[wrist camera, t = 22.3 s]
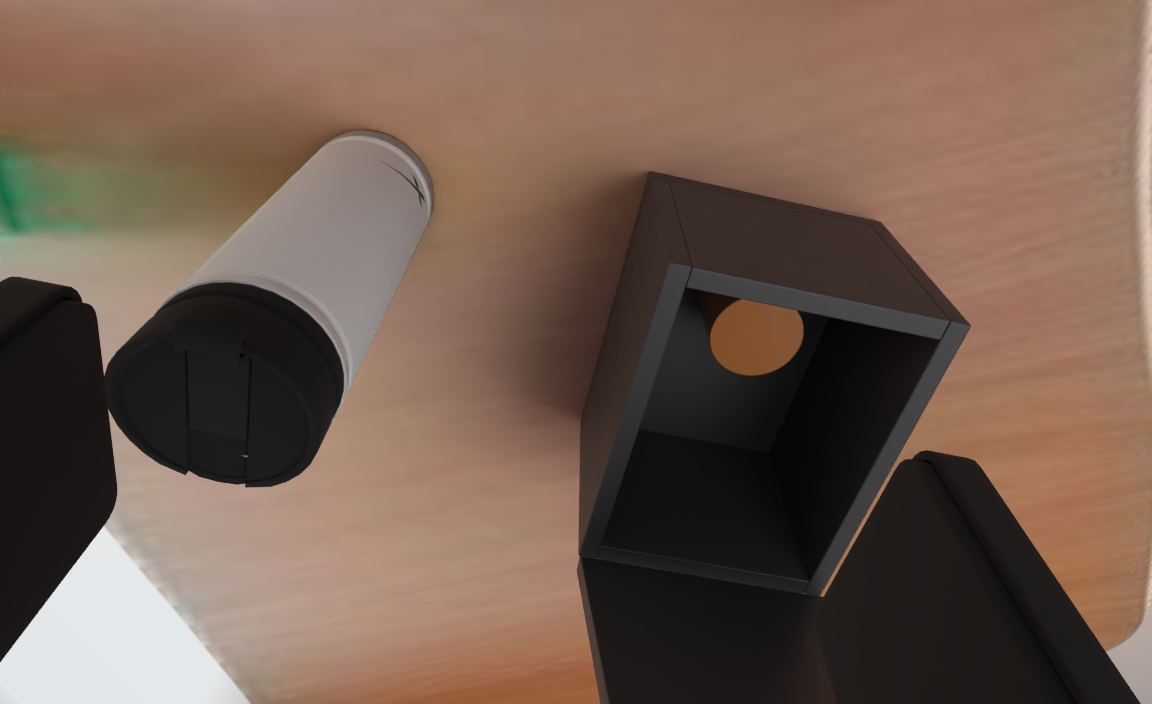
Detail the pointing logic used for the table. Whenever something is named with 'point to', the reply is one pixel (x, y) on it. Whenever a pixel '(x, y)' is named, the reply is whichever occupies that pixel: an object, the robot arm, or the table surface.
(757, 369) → the orange cylinder
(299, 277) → the travel mug
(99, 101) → the table surface
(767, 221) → the dark storage box
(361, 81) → the table surface
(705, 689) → the lid
